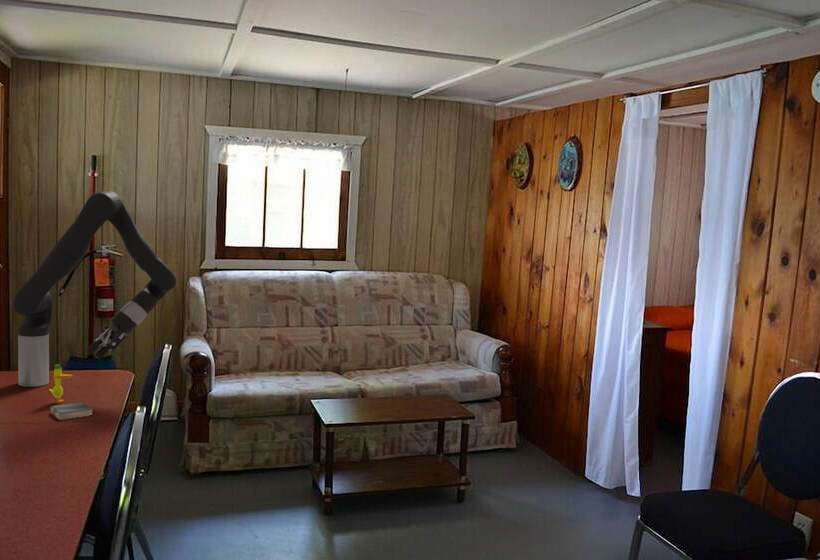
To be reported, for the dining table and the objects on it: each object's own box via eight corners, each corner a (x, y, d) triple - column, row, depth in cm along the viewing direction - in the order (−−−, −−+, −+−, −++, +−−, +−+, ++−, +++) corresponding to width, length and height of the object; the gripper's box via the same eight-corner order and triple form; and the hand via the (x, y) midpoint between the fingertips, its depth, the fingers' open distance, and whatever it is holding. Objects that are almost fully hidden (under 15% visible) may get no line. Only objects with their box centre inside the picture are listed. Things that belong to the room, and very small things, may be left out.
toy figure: (72, 400, 224) (73, 363, 223) (71, 403, 221) (71, 365, 219) (49, 401, 222) (49, 363, 220) (47, 404, 218) (47, 366, 217)
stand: (50, 412, 210) (50, 406, 209) (82, 408, 216) (82, 401, 215) (59, 420, 203) (59, 413, 203) (92, 415, 209) (92, 408, 209)
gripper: (113, 307, 236) (77, 344, 229) (129, 313, 225) (91, 351, 219) (129, 322, 240) (94, 358, 233) (145, 328, 229) (108, 366, 223)
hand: (92, 355), depth 226 cm, fingers open, 8 cm apart
